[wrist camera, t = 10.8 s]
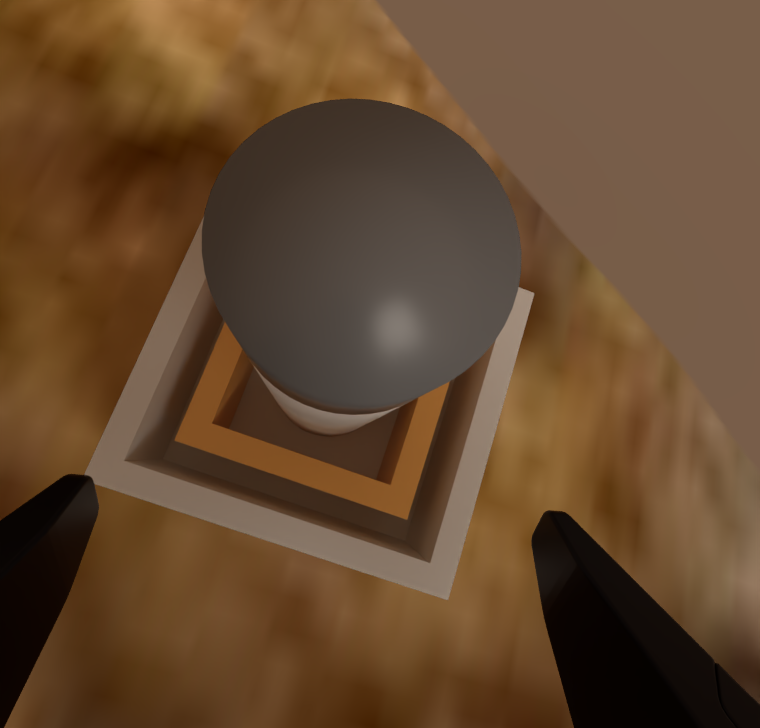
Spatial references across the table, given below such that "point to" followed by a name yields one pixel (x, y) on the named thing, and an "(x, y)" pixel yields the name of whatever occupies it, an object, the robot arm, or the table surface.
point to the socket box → (302, 448)
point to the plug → (359, 258)
